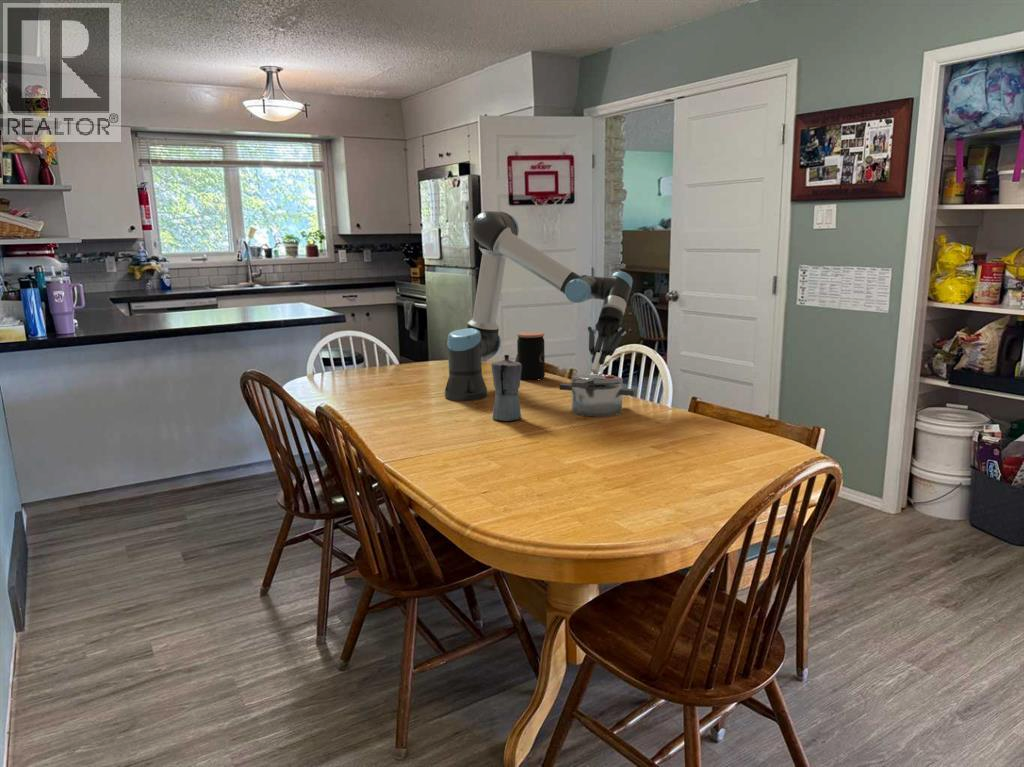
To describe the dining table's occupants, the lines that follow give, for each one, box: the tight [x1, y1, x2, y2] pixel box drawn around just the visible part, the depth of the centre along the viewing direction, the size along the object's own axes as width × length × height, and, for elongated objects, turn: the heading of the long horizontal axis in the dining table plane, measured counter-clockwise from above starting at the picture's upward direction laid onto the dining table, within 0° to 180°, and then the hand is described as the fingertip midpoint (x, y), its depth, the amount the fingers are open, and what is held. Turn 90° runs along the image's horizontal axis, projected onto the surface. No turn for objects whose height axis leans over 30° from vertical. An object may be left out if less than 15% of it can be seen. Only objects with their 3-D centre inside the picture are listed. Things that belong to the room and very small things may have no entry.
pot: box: [558, 382, 637, 418], centre depth 223 cm, size 25×18×9 cm
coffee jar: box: [516, 331, 546, 381], centre depth 274 cm, size 11×11×18 cm
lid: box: [571, 373, 623, 388], centre depth 217 cm, size 16×26×2 cm, turn 153°
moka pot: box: [490, 354, 522, 422], centre depth 213 cm, size 10×15×20 cm, turn 174°
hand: (594, 371), depth 217 cm, fingers closed
